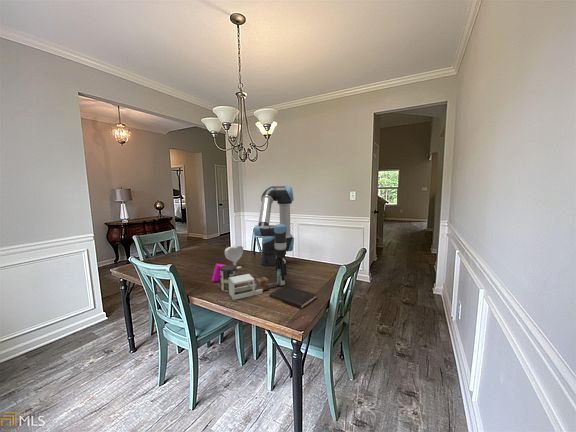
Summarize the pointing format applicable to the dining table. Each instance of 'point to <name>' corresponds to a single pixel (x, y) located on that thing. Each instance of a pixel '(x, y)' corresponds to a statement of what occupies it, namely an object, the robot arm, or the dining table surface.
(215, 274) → the toy block
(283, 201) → the robot arm
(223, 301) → the dining table surface
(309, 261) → the dining table surface
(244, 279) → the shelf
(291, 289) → the hardcover book
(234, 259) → the heart sculpture
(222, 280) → the coffee can
